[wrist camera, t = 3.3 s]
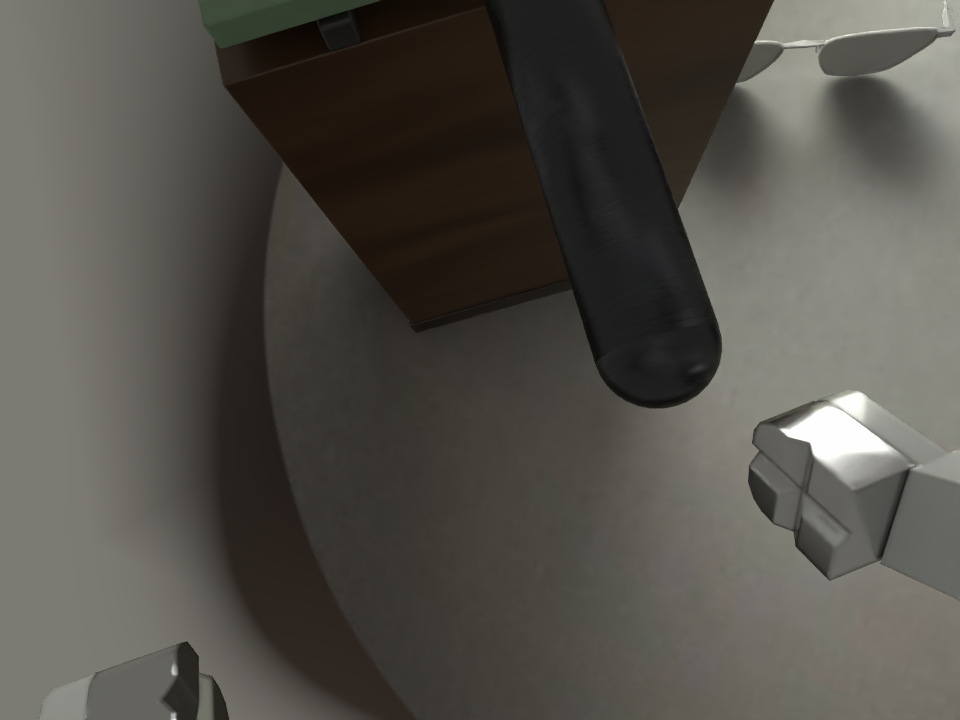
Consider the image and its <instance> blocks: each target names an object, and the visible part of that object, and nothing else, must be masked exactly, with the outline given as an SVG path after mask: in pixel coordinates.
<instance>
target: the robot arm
mask: <svg viewBox="0 0 960 720" xmlns="http://www.w3.org/2000/svg"><path fill="white" fill-rule="evenodd" d="M752 444H753V445H754V446H755V447H756V448H757V449H758V450H759V452H758V453H757V455H756V456H755V458H754V459H753V461H752V462H751V464H750V465H749V476H748V483H749V486H750V489H751V492H752V495H753V498H754V500H755V502H756V503H757V505H758V506H759V508H760V509H761V511H762V512H763V513H764V514H765V515H766V516H767V517H768V519H769V520H770V521H771V522H772V523H773V524H775V525H777V526H780V527H783V528H786V529H788V530H791V531H794V538H795V546H796V547H797V548H798V549H799V550H800V551H801V552H802V553H803V554H804V555H805V556H806V557H807V559H808V560H809V561H810V562H811V563H812V564H813V565H814V566H815V567H816V568H817V569H818V570H819V571H820V572H821V573H822V574H823V575H824V576H825V577H826V578H827V579H828V580H829V581H831V580H833V579H835V578H838V577H840V576H843V575H845V574H848V573H850V572H853V571H855V570H857V569H860V568H862V567H865V566H867V565H870V564H872V563H875V562H877V561H879V560H881V564H883V565H885V566H887V567H889V568H891V569H893V570H896V571H898V572H900V573H902V574H904V575H906V576H908V577H911V578H913V579H915V580H917V581H919V582H921V583H923V584H926V585H928V586H930V587H932V588H934V589H936V590H939V591H941V592H943V593H945V594H947V595H949V596H951V597H954V598H956V599H958V600H960V450H955V451H952V452H950V453H949V452H947V451H946V450H944V449H943V448H941V447H940V446H939V445H937V444H936V443H934V442H933V441H931V440H930V439H928V438H927V437H925V436H924V435H923V434H921V433H920V432H918V431H917V430H915V429H914V428H912V427H911V426H909V425H908V424H906V423H905V422H904V421H902V420H901V419H899V418H898V417H896V416H895V415H893V414H892V413H890V412H889V411H888V410H886V409H885V408H883V407H882V406H880V405H879V404H877V403H876V402H874V401H873V400H871V399H870V398H869V397H867V396H866V395H864V394H863V393H861V392H859V391H856V390H852V389H849V388H848V389H845V390H843V391H840V392H838V393H835V394H832V395H830V396H827V397H824V398H822V399H819V400H817V401H812V402H810V403H807V404H805V405H802V406H800V407H797V408H795V409H792V410H789V411H787V412H784V413H782V414H779V415H777V416H774V417H772V418H769V419H767V420H764V421H762V422H760V423H759V424H758V425H757V427H756V428H755V429H754V433H753V440H752ZM38 720H229V716H228V712H227V707H226V703H225V700H224V698H223V695H222V693H221V690H220V688H219V686H218V685H217V683H216V681H215V680H214V678H213V677H212V676H210V675H206V674H202V673H199V656H198V655H197V653H196V652H195V651H194V649H193V648H192V647H191V646H190V644H189V643H188V642H183V643H179V644H176V645H173V646H171V647H168V648H165V649H162V650H159V651H157V652H154V653H151V654H148V655H145V656H143V657H139V658H136V659H134V660H131V661H128V662H126V663H122V664H120V665H117V666H114V667H111V668H108V669H105V670H103V671H100V672H97V673H95V674H92V675H89V676H86V677H84V678H81V679H78V680H76V681H73V682H70V683H67V684H65V685H62V686H59V687H56V688H54V689H51V690H50V691H49V693H48V695H47V697H46V698H45V700H44V702H43V704H42V706H41V709H40V715H39V719H38Z"/></svg>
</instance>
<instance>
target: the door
mask: <svg viewBox="0 0 960 720" xmlns="http://www.w3.org/2000/svg"><path fill="white" fill-rule="evenodd" d="M198 1H199V6H200V12H201V17H202V21H203V26H204V27H205V29H207V31H208V33H209V34H210V35H211V37H212V38H213V39H214V41H215V42H216V44H217V45H218V46H219V48H226V47H229V46H233V45H236V44H239V43H242V42H246V41H249V40H252V39H256V38H259V37H262V36H266V35H269V34H272V33H275V32H279V31H282V30H285V29H289V28H292V27H295V26H299V25H302V24H305V23H308V22H312V21H315V20H318V19H322V18H325V17H328V16H331V15H335V14H338V13H341V12H345V11H348V10H351V9H355V8H358V7H361V6H364V5H368V4H371V3H374V2H378V1H381V0H198ZM484 3H485V6H486V10H487V13H488V16H489V19H490V23H491V26H492V29H493V32H494V36H495V39H496V42H497V45H498V49H499V52H500V55H501V59H502V62H503V65H504V68H505V72H506V75H507V78H508V81H509V85H510V88H511V91H512V94H513V98H514V101H515V104H516V107H517V111H518V114H519V117H520V120H521V124H522V127H523V130H524V133H525V137H526V140H527V143H528V146H529V150H530V153H531V156H532V159H533V163H534V166H535V169H536V173H537V176H538V179H539V182H540V186H541V189H542V192H543V195H544V199H545V202H546V205H547V208H548V212H549V215H550V218H551V221H552V225H553V228H554V231H555V234H556V238H557V241H558V244H559V247H560V251H561V254H562V257H563V260H564V264H565V267H566V270H567V274H568V277H569V280H570V283H571V287H572V290H573V293H574V296H575V300H576V303H577V306H578V309H579V313H580V316H581V319H582V322H583V326H584V329H585V332H586V335H587V339H588V342H589V345H590V348H591V352H592V355H593V358H594V361H595V364H596V367H597V369H598V371H599V374H600V376H601V378H602V379H603V380H604V382H605V383H606V385H607V386H608V387H609V388H610V389H611V390H612V391H613V392H614V393H615V394H616V395H618V396H619V397H621V398H622V399H624V400H625V401H627V402H630V403H632V404H635V405H637V406H641V407H646V408H669V407H673V406H677V405H680V404H682V403H685V402H687V401H689V400H691V399H692V398H694V397H695V396H697V395H698V394H699V393H700V392H701V391H702V390H703V389H704V388H705V387H706V386H708V384H709V383H710V381H711V380H712V378H713V377H714V375H715V373H716V371H717V368H718V366H719V364H720V359H721V353H722V338H721V334H720V330H719V325H718V322H717V319H716V316H715V314H714V311H713V308H712V305H711V302H710V299H709V297H708V294H707V291H706V288H705V285H704V282H703V280H702V277H701V274H700V271H699V268H698V265H697V263H696V260H695V257H694V254H693V251H692V248H691V246H690V243H689V240H688V237H687V234H686V231H685V229H684V226H683V223H682V220H681V217H680V214H679V212H678V209H677V206H676V203H675V200H674V197H673V195H672V192H671V189H670V186H669V183H668V180H667V178H666V175H665V172H664V169H663V166H662V163H661V161H660V158H659V155H658V152H657V149H656V146H655V144H654V141H653V138H652V135H651V132H650V129H649V126H648V124H647V121H646V118H645V115H644V112H643V109H642V107H641V104H640V101H639V98H638V95H637V92H636V90H635V87H634V84H633V81H632V78H631V75H630V73H629V70H628V67H627V64H626V61H625V58H624V56H623V53H622V50H621V47H620V44H619V41H618V39H617V36H616V33H615V30H614V27H613V24H612V22H611V19H610V16H609V13H608V10H607V7H606V5H605V2H604V0H484Z"/></svg>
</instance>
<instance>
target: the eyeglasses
mask: <svg viewBox="0 0 960 720" xmlns="http://www.w3.org/2000/svg"><path fill="white" fill-rule="evenodd" d="M944 7H945V8H944V10H943V13H942V19H943V25H944V27H942V28H934V27H914V28H902V29H891V30H882V31H871V32H862V33H855V34H848V35H843V36H838V37H835V38H832V39H830V40H828V41H826V40H823V41H821V40H803V41H797V42H791V43H785V44H782V43H780V42H777V41H755V43H754V45H753V47H752V49H751V52H750V54H749V56H748V58H747V60H746V62H745V65H744V67H743V69H742V71H741V73H740V75H739V78H738V80H737V82H736V83H739V82H743V81H747V80H749V79H751V78H752V77H754V76H756V75H757V74H759V73H760V72H762V71H763V70H765V69H766V68H767V67H769V66H770V65H771V64H772V63H773V62H775V61H776V60H777V59H778V58H779V57H780V55H781V54H782V53H783V51H784V49H792V48H808V47H816V53H819V56H818V58H819V65H820V67H821V69H822V71H823V72H824V73H825V74H827V75H832V76H856V75H864V74H870V73H876V72H880V71H884V70H887V69H890V68H892V67H894V66H896V65H898V64H900V63H902V62H904V61H905V60H907V59H909V58H910V57H912V56H913V55H915V54H917V53H918V52H920V51H921V50H923V49H924V48H926V47H927V46H929V45H930V44H931V43H933V42H934V41H935V40H936V39H937V38H940V37H947V36H951V35H952V34H953V33H954V32H955V31H956V30H955V24H954V18H953V12H952V8H948V7H947V0H944Z"/></svg>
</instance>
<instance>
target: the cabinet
mask: <svg viewBox="0 0 960 720" xmlns="http://www.w3.org/2000/svg"><path fill="white" fill-rule="evenodd" d="M604 2H605V5H606V7H607V10H608V13H609V16H610V19H611V22H612V24H613V27H614V30H615V33H616V36H617V39H618V41H619V44H620V47H621V50H622V53H623V56H624V58H625V61H626V64H627V67H628V70H629V73H630V75H631V78H632V81H633V84H634V87H635V90H636V92H637V95H638V98H639V101H640V104H641V107H642V109H643V112H644V115H645V118H646V121H647V124H648V126H649V129H650V132H651V135H652V138H653V141H654V144H655V146H656V149H657V152H658V155H659V158H660V161H661V163H662V166H663V169H664V172H665V175H666V178H667V180H668V183H669V186H670V189H671V192H672V195H673V197H674V200H675V203H676V206H677V209H678V208H679V205H680V203H681V201H682V199H683V197H684V195H685V192H686V190H687V188H688V186H689V184H690V182H691V179H692V177H693V175H694V173H695V171H696V169H697V166H698V164H699V162H700V160H701V158H702V156H703V153H704V151H705V149H706V147H707V145H708V143H709V140H710V138H711V136H712V134H713V132H714V130H715V127H716V125H717V123H718V121H719V119H720V117H721V114H722V112H723V110H724V108H725V106H726V104H727V101H728V99H729V97H730V95H731V93H732V91H733V88H734V86H735V84H736V82H737V80H738V78H739V75H740V73H741V71H742V69H743V67H744V65H745V62H746V60H747V58H748V56H749V54H750V52H751V49H752V47H753V45H754V43H755V41H756V39H757V36H758V34H759V32H760V30H761V28H762V26H763V23H764V21H765V19H766V17H767V15H768V13H769V10H770V8H771V6H772V4H773V2H774V0H604ZM214 43H215V49H216V53H217V58H218V63H219V68H220V73H221V78H222V83H223V86H224V87H225V88H226V90H227V91H228V92H229V94H230V95H231V96H232V97H233V99H234V100H235V101H236V102H237V104H238V105H239V106H240V107H241V109H242V110H243V111H244V112H245V114H246V115H247V116H248V118H249V119H250V120H251V121H252V123H253V124H254V125H255V126H256V128H257V129H258V130H259V132H260V133H261V134H262V135H263V137H264V138H265V139H266V140H267V142H268V143H269V144H270V145H271V147H272V148H273V149H274V150H275V152H276V153H277V154H278V155H279V157H280V158H281V159H282V161H283V162H284V163H285V164H286V166H287V167H288V168H289V169H290V171H291V172H292V173H293V175H294V176H295V177H296V178H297V180H298V181H299V182H300V183H301V185H302V186H303V187H304V188H305V190H306V191H307V192H308V193H309V195H310V196H311V197H312V199H313V200H314V201H315V202H316V204H317V205H318V206H319V207H320V209H321V210H322V211H323V212H324V214H325V215H326V216H327V217H328V219H329V220H330V221H331V223H332V224H333V225H334V226H335V228H336V229H337V230H338V231H339V233H340V234H341V235H342V236H343V238H344V239H345V240H346V242H347V243H348V244H349V245H350V247H351V248H352V249H353V250H354V252H355V253H356V254H357V255H358V257H359V258H360V259H361V260H362V262H363V263H364V264H365V266H366V267H367V268H368V269H369V271H370V272H371V273H372V274H373V276H374V277H375V278H376V279H377V281H378V282H379V283H380V284H381V286H382V287H383V288H384V290H385V291H386V292H387V293H388V295H389V296H390V297H391V298H392V300H393V301H394V302H395V303H396V305H397V306H398V307H399V309H400V310H401V311H402V312H403V314H404V315H405V316H406V317H407V319H408V320H409V323H410V326H411V327H412V329H413V330H414V331H415V332H416V333H417V332H420V331H424V330H427V329H431V328H435V327H438V326H442V325H445V324H449V323H452V322H456V321H459V320H463V319H467V318H470V317H474V316H477V315H481V314H484V313H488V312H491V311H495V310H499V309H502V308H506V307H509V306H513V305H516V304H520V303H523V302H527V301H531V300H534V299H538V298H541V297H545V296H548V295H552V294H555V293H559V292H563V291H566V290H570V289H572V287H571V283H570V280H569V277H568V274H567V270H566V267H565V264H564V260H563V257H562V254H561V251H560V247H559V244H558V241H557V238H556V234H555V231H554V228H553V225H552V221H551V218H550V215H549V212H548V208H547V205H546V202H545V199H544V195H543V192H542V189H541V186H540V182H539V179H538V176H537V173H536V169H535V166H534V163H533V159H532V156H531V153H530V150H529V146H528V143H527V140H526V137H525V133H524V130H523V127H522V124H521V120H520V117H519V114H518V111H517V107H516V104H515V101H514V98H513V94H512V91H511V88H510V85H509V81H508V78H507V75H506V72H505V68H504V65H503V62H502V59H501V55H500V52H499V49H498V45H497V42H496V39H495V36H494V32H493V29H492V26H491V23H490V19H489V16H488V13H487V10H486V6H485V3H484V0H381V1H378V2H374V3H371V4H368V5H364V6H361V7H358V8H355V9H351V10H348V11H345V12H341V13H338V14H335V15H331V16H328V17H325V18H322V19H318V20H315V21H312V22H308V23H305V24H302V25H299V26H295V27H292V28H289V29H285V30H282V31H279V32H275V33H272V34H269V35H266V36H262V37H259V38H256V39H252V40H249V41H246V42H242V43H239V44H236V45H233V46H229V47H226V48H219V46H218V45H217V44H216V42H215V41H214Z"/></svg>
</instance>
